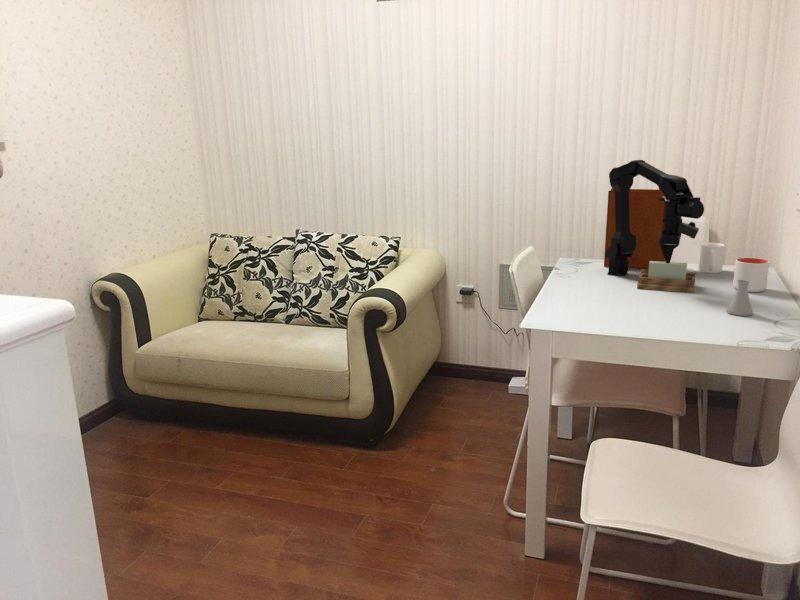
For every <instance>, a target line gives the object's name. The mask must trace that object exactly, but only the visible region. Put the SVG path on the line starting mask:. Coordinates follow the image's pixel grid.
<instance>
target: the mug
mask: <svg viewBox="0 0 800 600" xmlns="http://www.w3.org/2000/svg"><path fill="white" fill-rule="evenodd" d="M699 247H700V248H699V258H698V271H699V272H700V273H705V274H720V273H721V272H722V271H723V264H724V257H725V256H724V255H725V247H726V245H725V244H724V243H720V242H719V243H718V242H702V243H700V245H699Z"/></svg>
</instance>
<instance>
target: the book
mask: <svg viewBox="0 0 800 600" xmlns="http://www.w3.org/2000/svg"><path fill="white" fill-rule="evenodd" d="M607 195H608V196H607V208H606V209H607V210H606V211H607V213H606V223H605V224H606V227H605V240H604V241H605V243H604V253H605V252H606V250H607V249H608V248H609V247H610V246H611V240H612V237H613V235H614V233H615V231H616V224H615V192H614V190H613V189H612V188H610V190H608V193H607ZM663 196H664V193H663V192H662V191H661V190H659V189H651V188H650V189H647V188H644V189H643V188H630V190H629V220H630V232H631V233H632V235H636V245H637V246H635V251H633V254H632V257H631V258H630V257H629V258H627V261H628V262H629V267H628V270H630V269H631V270H641V269H645V270H649V262H650V261H660V262H666V261H665V258H664V255H663V252H662V250H661V247H660V243H659V239H660V236H661V235H662V227H663V215H664V202H665V201H660V198H661V197H663ZM603 268H609V258H606V257H605V255H604V257H603Z"/></svg>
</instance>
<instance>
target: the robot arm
mask: <svg viewBox="0 0 800 600" xmlns="http://www.w3.org/2000/svg"><path fill="white" fill-rule="evenodd" d="M608 173H609V174H608V178H609V179H608V180H609V185H610V187H611V189H613V190H614V192H615V224H616V231H615V233H614V235H613V237H612V240H611V246H610V247H609V248H608V249H607V250H606V252H605V251H604V256H605V257H606V258H609V267H608V272H607V275H611V276H627V274H628V273H629V269H628V267H629V262H628V261H627V258H629V257H630V258H631V257H632V254H633V251H635V246H637V245H636V235H632V233H631V232H630V220H629V190H630V189H632V186H633V184H634V178H635V177H638V176H641V177H643V178H645V179H646V180H648V181H650V182H652V183H653V184H655V185H657V187H658V190H661V191H662V192H663V193H664V196H663V197H661V198H660V201H665V202H664V215H663V227H662V235H661V236H660V239H659V243H660V247H661V250H662V252H663V255H664V258H665V261H666V263H670V262H672V257H673V253H674V250H675V249H676V248H677V247H679V245H680V243H681V237H682V235H685V236H687V237H689V238H691V239H694V240H695V239H696V237H697V235H698V232H699V230H700V229H699V227H696V222H694V221H691V222H689V223H688V222H687V223H686V222H684V221H683V218H689V219H696V220H697V219H700V218H701V217H702V216H703V214H704V212H705V206H704V203H703V202H702V201H701V197H700V196H699V197H698V196H697V197H694V195H693V192H692V190H691V189H690V186H689V184H688V180H687V179H686V177H682V176H678V175H674V174H668V173H666V172H664V171H662V170H660V169H659V168H656V167H655V166H653V165H651V164H650V163H648V162H646V161H645V160H644V159H634V160H631V161H629V162H628V163H625V164H622V165H620V166H618V167H613V168H612V169H610V172H608Z"/></svg>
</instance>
